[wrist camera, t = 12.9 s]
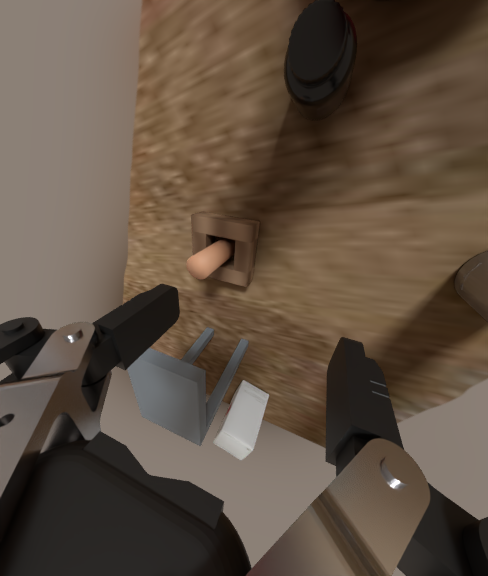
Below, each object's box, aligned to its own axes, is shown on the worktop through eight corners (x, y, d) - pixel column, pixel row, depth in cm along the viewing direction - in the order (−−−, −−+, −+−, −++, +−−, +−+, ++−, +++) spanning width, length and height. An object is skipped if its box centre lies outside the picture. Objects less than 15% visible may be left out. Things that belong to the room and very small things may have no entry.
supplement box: (242, 378, 61) (220, 430, 48) (270, 394, 60) (254, 451, 47) (233, 392, 66) (211, 443, 53) (258, 407, 65) (241, 462, 52)
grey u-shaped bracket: (255, 291, 45) (197, 382, 25) (247, 346, 54) (200, 446, 34) (207, 278, 48) (121, 351, 28) (207, 332, 57) (142, 416, 37)
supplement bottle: (284, 90, 28) (260, 44, 18) (331, 34, 24) (332, -61, 15) (312, 134, 29) (303, 114, 19) (361, 88, 26) (380, 34, 16)
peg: (238, 238, 41) (208, 258, 31) (236, 257, 43) (208, 282, 33) (219, 234, 42) (185, 253, 32) (219, 253, 44) (187, 276, 34)
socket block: (259, 221, 38) (253, 225, 34) (252, 278, 44) (246, 287, 40) (202, 211, 41) (191, 214, 37) (203, 266, 47) (193, 273, 43)
